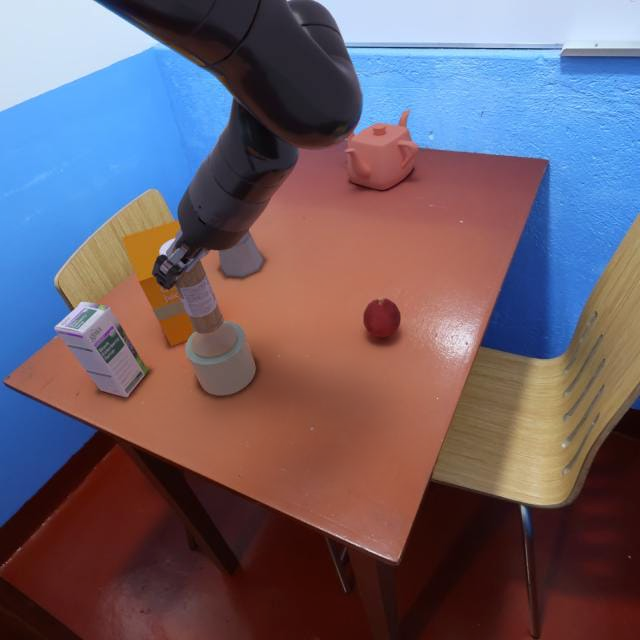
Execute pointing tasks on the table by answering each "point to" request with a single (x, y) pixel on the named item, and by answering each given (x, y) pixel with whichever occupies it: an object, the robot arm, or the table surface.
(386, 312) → the onion
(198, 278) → the sprinkles bottle
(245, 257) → the coffee maker
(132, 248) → the orange juice
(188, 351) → the pale green cylinder
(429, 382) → the table surface
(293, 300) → the table surface
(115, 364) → the syrup box
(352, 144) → the pot
